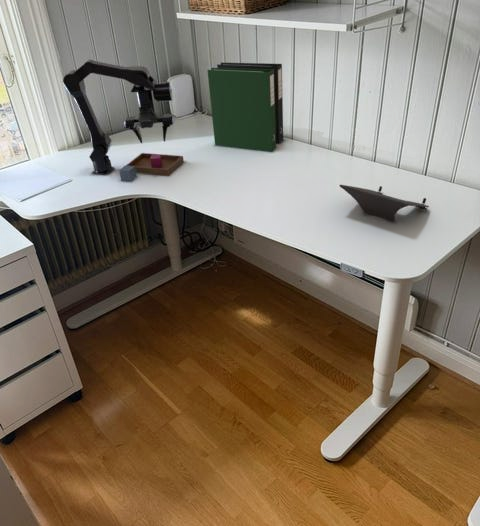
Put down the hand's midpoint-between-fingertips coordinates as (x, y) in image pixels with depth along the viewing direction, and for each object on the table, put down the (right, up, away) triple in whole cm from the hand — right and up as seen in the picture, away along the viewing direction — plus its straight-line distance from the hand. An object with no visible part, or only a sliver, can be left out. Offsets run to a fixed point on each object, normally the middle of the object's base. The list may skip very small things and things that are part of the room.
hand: (153, 142), depth 194 cm
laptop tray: (+82, -32, -37) cm, 95 cm away
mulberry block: (+1, -8, +6) cm, 10 cm away
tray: (0, -9, +6) cm, 11 cm away
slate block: (-9, -15, -2) cm, 18 cm away
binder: (+39, +5, +21) cm, 44 cm away
